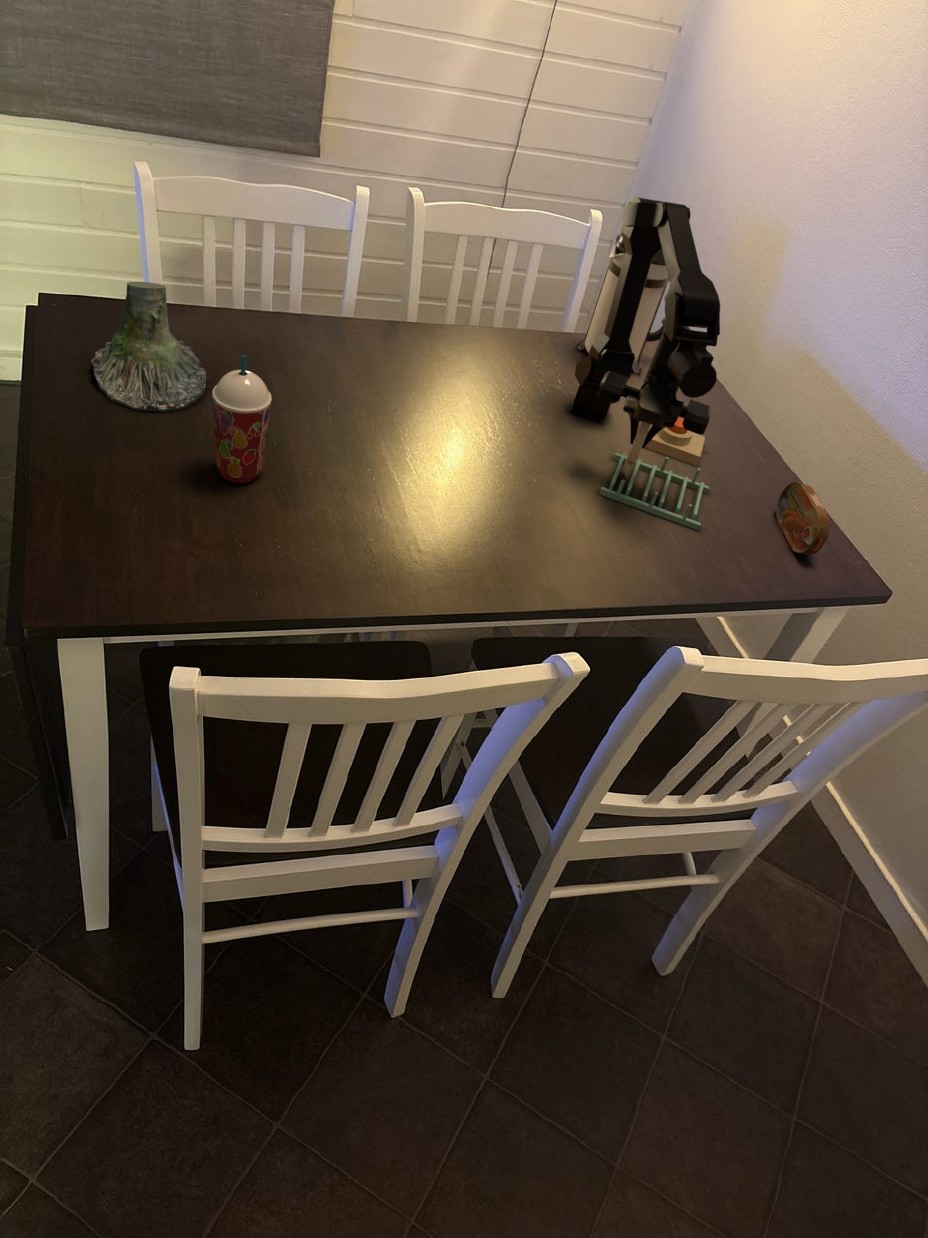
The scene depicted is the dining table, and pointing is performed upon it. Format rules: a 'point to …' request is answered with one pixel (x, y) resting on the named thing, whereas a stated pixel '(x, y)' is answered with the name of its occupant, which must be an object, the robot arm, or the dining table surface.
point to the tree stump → (148, 357)
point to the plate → (637, 445)
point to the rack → (649, 507)
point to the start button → (678, 427)
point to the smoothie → (240, 423)
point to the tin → (802, 518)
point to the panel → (678, 445)
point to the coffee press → (647, 306)
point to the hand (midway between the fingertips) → (637, 444)
